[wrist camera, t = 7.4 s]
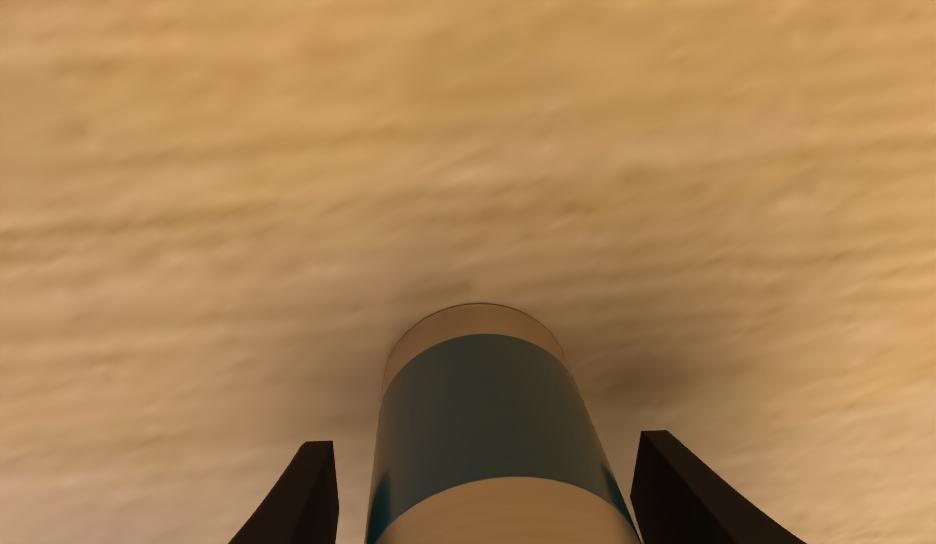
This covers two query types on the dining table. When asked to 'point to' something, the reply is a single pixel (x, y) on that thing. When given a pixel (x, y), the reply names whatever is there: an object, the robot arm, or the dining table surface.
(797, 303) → the dining table surface
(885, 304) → the dining table surface
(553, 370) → the tin can
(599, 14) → the dining table surface
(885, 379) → the dining table surface
